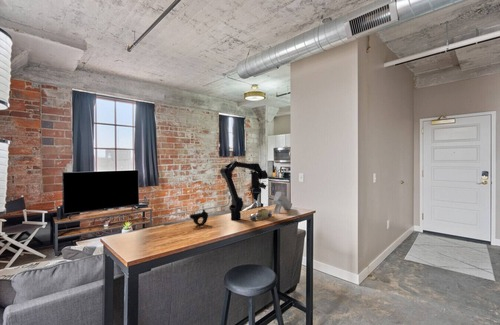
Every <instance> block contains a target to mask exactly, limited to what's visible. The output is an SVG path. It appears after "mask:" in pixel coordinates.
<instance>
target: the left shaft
mask: <svg viewBox="0 0 500 325" xmlns="http://www.w3.org/2000/svg"><path fill="white" fill-rule="evenodd" d="M256 218H259V213H258V212H255V213H252V214H250V215H249V219H250V221H252V222H256V221H257V219H256Z"/></svg>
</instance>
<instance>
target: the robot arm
mask: <svg viewBox="0 0 500 325" xmlns="http://www.w3.org/2000/svg"><path fill="white" fill-rule="evenodd" d="M236 168H241V169H242V168H244V169H247V170H250V171H249V172H248V174H249V175H251V177H250V179H251V180H250V184H251V185H250V186H249V191H250V193H251V196H252V198H253V199H254V201H255V202H258V199H259V195H260V194H261V193H262V189H263V190H266V188H267V184H265V183H264V182H263V181H262V182H260V180H267V179H268V177H269V174H268V172H267V170H262V168H261V165H260V164H259V163H254V162H252V163H246V162H242V161H241V162H240V161H237V160H235V161H234V160H232V161H231V162H229V163H228V164H226V165H225V166H224V167H221V168H220V169H219V172H220V175H221V176H222V178H223V179H224V181H225V182H226V185H227V188H228V191H229V193H230V196H231V204H230V206H229V207H228V209H229V210H230V220H231V221H240V220H241V219H242V217H241V215H242V213H241V211H242V209H243V206H244V201H243V197H241V196H239V194H238V191H237V188H236V186H235V183H234V181H233V171H235V169H236Z"/></svg>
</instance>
